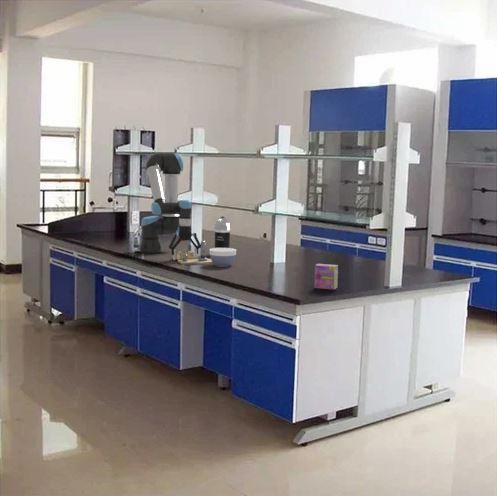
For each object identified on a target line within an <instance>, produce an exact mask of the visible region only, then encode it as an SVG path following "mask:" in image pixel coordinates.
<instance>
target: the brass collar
mask: <svg viewBox="0 0 497 496" xmlns="http://www.w3.org/2000/svg"><path fill="white" fill-rule="evenodd" d="M183 254H188V259H194V252H193V251H191V250H177V251H176V260H177V261H178V260H183Z"/></svg>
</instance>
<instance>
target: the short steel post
mask: <svg viewBox="0 0 497 496" xmlns="http://www.w3.org/2000/svg"><path fill="white" fill-rule="evenodd" d="M183 261H185V262H186V261H188V254H183Z"/></svg>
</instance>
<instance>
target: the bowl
mask: <svg viewBox="0 0 497 496" xmlns="http://www.w3.org/2000/svg"><path fill="white" fill-rule="evenodd" d="M236 255H237V249H236V248H231V247H230V248H215V247H212V248H209V259H211V260H212V262H213V263H214V264H213V265H214V266H215V267H219V268H228V266H229V267H231V265H232V264H233V263H234V262H235V260H236Z"/></svg>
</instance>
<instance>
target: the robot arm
mask: <svg viewBox="0 0 497 496" xmlns="http://www.w3.org/2000/svg"><path fill="white" fill-rule="evenodd" d="M183 171H184V161H183V157H182V155H181V154H180V153H175V152H170V153H169V152H167V153H164V152H162V153H160V152H157V153H154V154H152V155H150V156H149V157H148V160H146V164H145V173H146V175H148V179H149V184H150V190H151V193H152V194H151V195H152V200H153V202H152V203H151V206H150V207H151V210H150V211H151V214H153V215H150V216H145V217H143V218H142V219H141V224H140V225H141V240H140V245H139V247H138V252H139V253H143V254H144V253H145V254H157V253H162V252H163V248H162V244H161V240H160V236H161V237H162V236H173V237H172V239H171V241H170V244H169V246H168V249H170V250H171V255H172V261H176V248H177V247H178V245H179V244H180V243H181V242H182V241H189V242H190V243H191V244H192V245H193V246H194V256H193V259H198V255H199V249H201V242H200V241H199V238H198V235H197V233H196V232H192V206H193V205H192V201H191V200H190V199H189V200H188V199H180V200H178V197H179V176H180V175H181V172H183ZM161 173H162V175H163V176H164V184H163V182H162V181H163V180H162V175H161ZM163 185H164V186H163ZM160 215H161V217H160ZM192 237H193V239H194V240H195V241H194V240H193V239H192ZM177 238H178V239H177ZM176 240H177V241H176ZM195 242H196V243H195Z"/></svg>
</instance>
